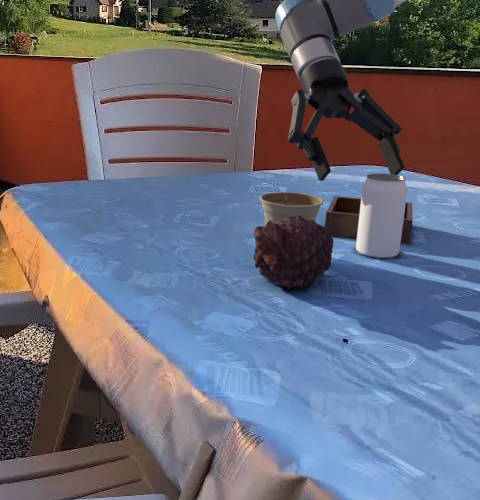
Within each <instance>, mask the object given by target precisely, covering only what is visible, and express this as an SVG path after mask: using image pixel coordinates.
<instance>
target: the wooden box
mask: <svg viewBox="0 0 480 500" xmlns="http://www.w3.org/2000/svg"><path fill="white" fill-rule="evenodd" d="M360 205H361V197H360V198H359V197H350V196H349V197H348V196H339V195H338V196H336V195H335V196H333V198H332V200H331V201H330V203H329V206H328V208H327V210H326V212H325V223H324V227H325V229H326V230H327V232H329V233H330V235H331V237H339V238H340V237H341V238H350V239H357V232H358V223H359V214H360ZM413 214H414V213H413V202H406V205H405V213H404V220H403V228H402V235H401V243H400V244H403V245H405V244H406V245H410V244H411V237H412V236H411V235H412V229H413V221H414V217H413Z"/></svg>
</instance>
